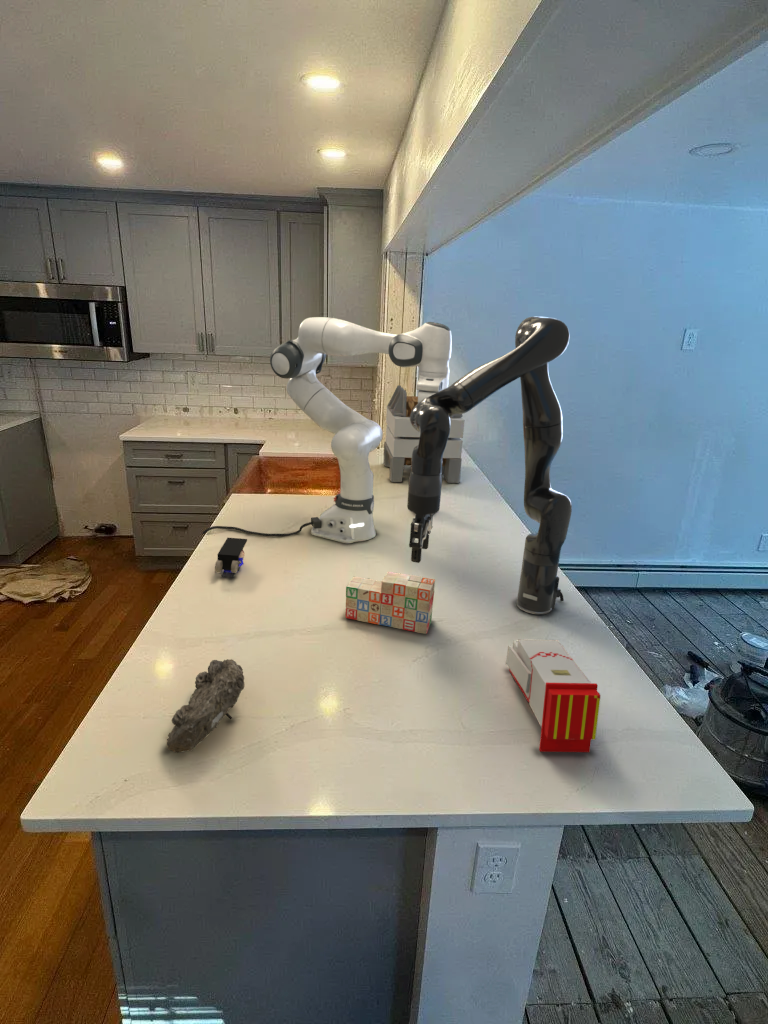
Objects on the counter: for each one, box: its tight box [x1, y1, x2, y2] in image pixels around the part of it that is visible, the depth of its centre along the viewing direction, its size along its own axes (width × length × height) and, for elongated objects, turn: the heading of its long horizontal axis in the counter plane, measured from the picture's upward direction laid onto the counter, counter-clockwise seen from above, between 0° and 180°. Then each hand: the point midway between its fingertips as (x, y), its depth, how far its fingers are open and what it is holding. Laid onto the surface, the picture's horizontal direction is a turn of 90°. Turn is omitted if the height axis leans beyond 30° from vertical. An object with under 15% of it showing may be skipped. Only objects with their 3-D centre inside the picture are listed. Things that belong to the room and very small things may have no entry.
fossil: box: [166, 658, 245, 754], centre depth 106 cm, size 22×10×15 cm
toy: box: [505, 638, 602, 753], centre depth 114 cm, size 12×13×30 cm
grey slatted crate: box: [383, 384, 465, 484], centre depth 268 cm, size 34×33×41 cm
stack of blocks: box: [345, 571, 436, 635], centre depth 142 cm, size 21×6×12 cm, turn 74°
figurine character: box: [214, 537, 248, 578], centre depth 166 cm, size 7×8×15 cm
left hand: (429, 428), depth 169 cm, fingers open, 8 cm apart
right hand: (419, 554), depth 136 cm, fingers open, 8 cm apart
